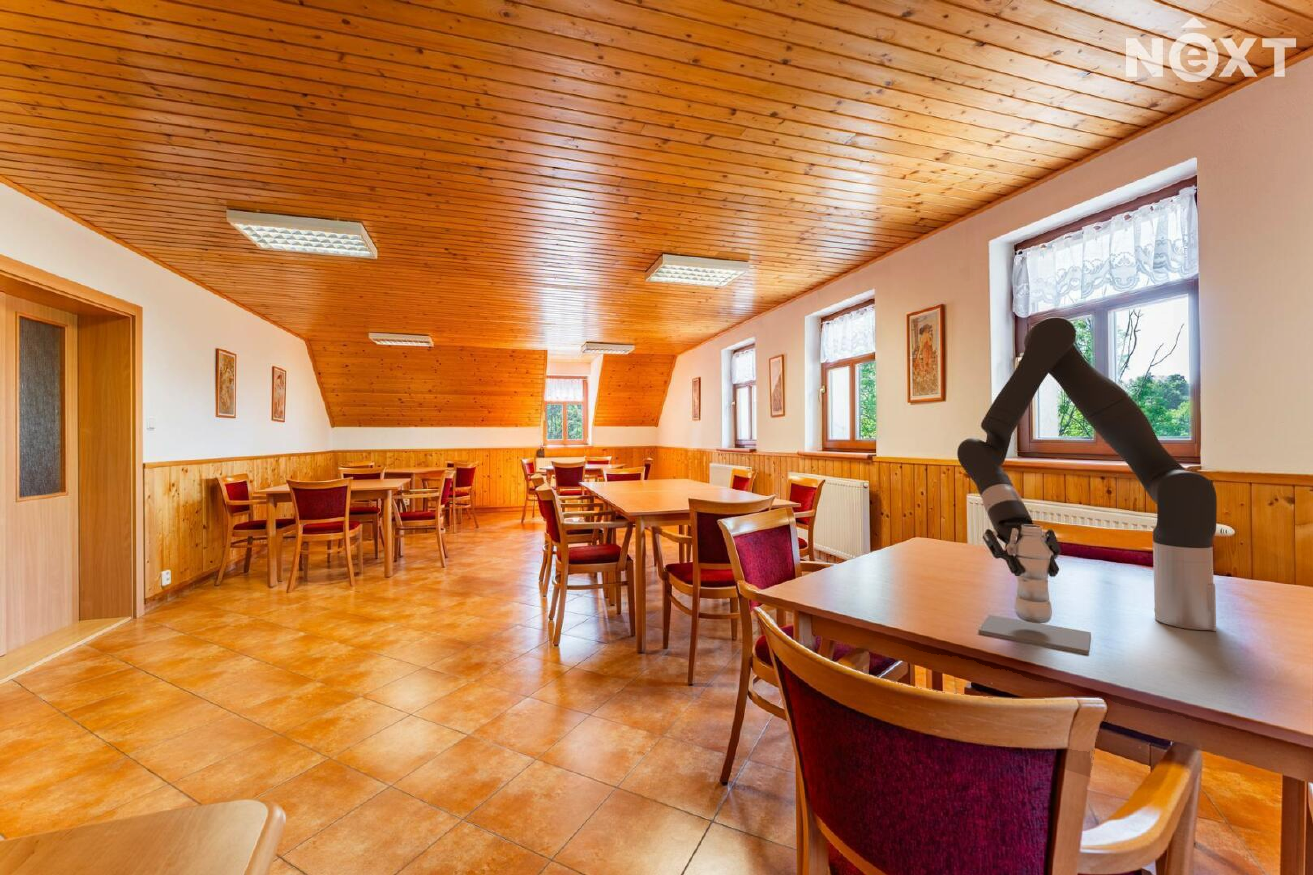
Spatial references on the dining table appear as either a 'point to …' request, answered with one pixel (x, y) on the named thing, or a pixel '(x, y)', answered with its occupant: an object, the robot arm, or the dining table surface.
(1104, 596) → the dining table surface
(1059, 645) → the grey rubber mat
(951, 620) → the dining table surface
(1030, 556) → the plastic bottle
